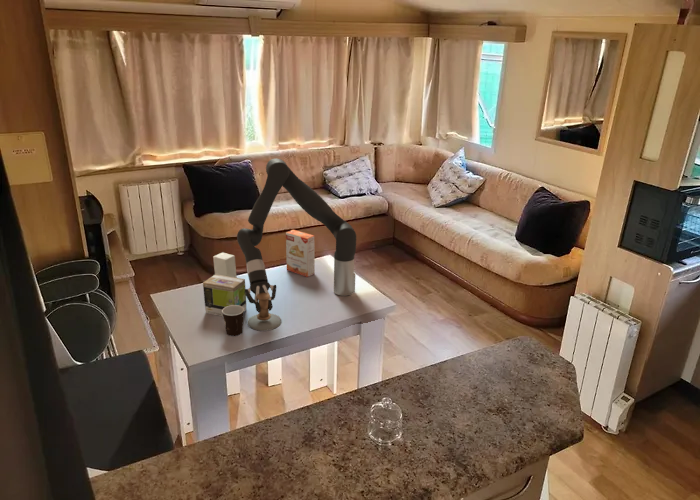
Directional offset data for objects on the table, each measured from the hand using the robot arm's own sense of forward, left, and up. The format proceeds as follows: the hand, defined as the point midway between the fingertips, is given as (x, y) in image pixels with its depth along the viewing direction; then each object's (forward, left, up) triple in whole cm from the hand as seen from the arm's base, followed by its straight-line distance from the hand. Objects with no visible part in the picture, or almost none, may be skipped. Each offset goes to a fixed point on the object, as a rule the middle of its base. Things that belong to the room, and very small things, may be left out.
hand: (265, 310), depth 222 cm
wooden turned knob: (0, -2, -4) cm, 5 cm away
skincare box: (+8, -42, -7) cm, 43 cm away
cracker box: (-30, -45, -7) cm, 54 cm away
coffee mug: (+14, +3, -7) cm, 16 cm away
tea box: (+13, -17, -7) cm, 22 cm away
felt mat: (0, -2, -6) cm, 7 cm away
